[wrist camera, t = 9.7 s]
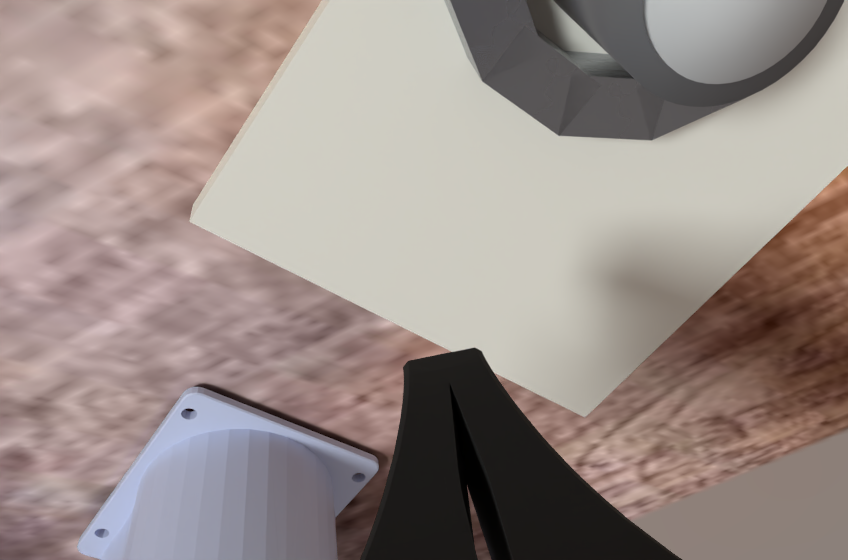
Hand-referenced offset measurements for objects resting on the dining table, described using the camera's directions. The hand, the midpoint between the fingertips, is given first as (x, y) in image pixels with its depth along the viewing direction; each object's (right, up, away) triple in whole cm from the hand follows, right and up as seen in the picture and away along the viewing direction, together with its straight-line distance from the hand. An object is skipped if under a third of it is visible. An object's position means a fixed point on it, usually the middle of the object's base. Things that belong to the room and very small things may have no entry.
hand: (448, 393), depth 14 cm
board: (+5, +8, +8) cm, 12 cm away
